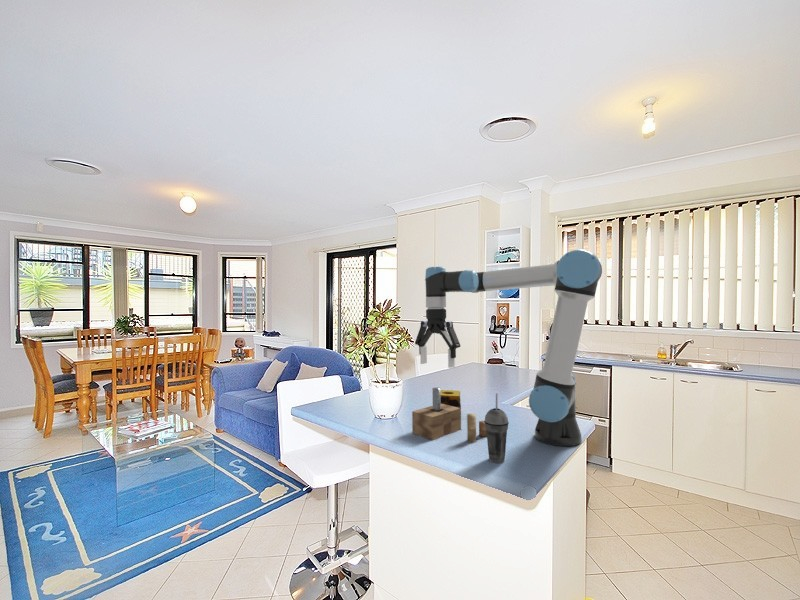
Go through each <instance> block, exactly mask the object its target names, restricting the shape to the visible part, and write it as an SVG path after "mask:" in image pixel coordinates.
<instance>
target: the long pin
mask: <svg viewBox="0 0 800 600" xmlns="http://www.w3.org/2000/svg"><path fill="white" fill-rule="evenodd" d="M441 390H442V389H441V388H440V387H432V406H433V411H435V412H440V411H441Z"/></svg>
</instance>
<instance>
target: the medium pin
mask: <svg viewBox="0 0 800 600" xmlns="http://www.w3.org/2000/svg"><path fill="white" fill-rule="evenodd" d="M466 421H467V422H466V423H467V424H466V426H467V427H466V431H467V432H466V433H467V434H466V435H467V436H466V438H467V442H469V443H476V442H477V415H476V413H467V414H466Z"/></svg>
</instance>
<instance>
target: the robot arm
mask: <svg viewBox="0 0 800 600" xmlns="http://www.w3.org/2000/svg"><path fill="white" fill-rule="evenodd" d="M602 273H603V267H602V264H601V262H600V260H599V258H598V256H597V255H595V253H593V252H591V251H589V250H585V249H573V250H570V251H568V252H566V253H565V254H563V255H562V257H560V259H559V260H556V262H554V263H552V264H543V265H533V266H526V267H525V266H524V267H517V268H508V269H498V270H490V271H489V270H488V271H478V272H476V271H475V270H473V269H472V270H469V269H465V270H457V271H455V270H454V271H446V268H445V267H444V266H429V267H427V268H426V269H425V276H424V277H425V279H424V281H425V308H427V309H426V310H425V318H426V320H421V321H420V327H419V330H418V333H417V336H416V339H415V342H414V344H415V345H417V346H418V348H419V350H418V352H419V353H418V354H419V355H420V364H421V365H425V364H427V362H428V361H427V359H428V357H427V355H428V353H427V349H428V348H427V345H426V344H427V343H428V341H429V339H430V338H431V336H432V335H433V334H438V335H440V336H441V337H442V339H443V340H444V342H445V343H446V345H447V347H448V349H447V368H449V369H451V368H454V367H456V365H455V361H456V360H455V359H456V357H457V350H456V349H458V348H461V344H460V340H459V338H458V336H457V333H456V330H455V329H454V322H453V321H446V319H447V309H446V307H447V293H472V294H473V293H475V294H477V293H479V292H480V293H482V292H493V291H504V290H515V289H516V290H517V289H529V288H540V287H553V286H554V292H555V293H556V295H557V301H556V306H555V309H554V310H555V311H554V316H553V321H552V324H551V325H552V326H551V330H550V334H549V338H548V343H547V347H546V352H545V358H544V361H543V367H542V368H541V370H539V371H537V372H536V375H535V380H534V386H533V389H532V391H530V393H529V397H528V405H529V408H530V410H531V413H533V414H534V416H535V417H537V418H538V420H537V423H536V426H535V429H534V437H535V438H536V440H537V441H539V442H542V443H545V444H548V445H553V446H559V447H571V446H573V447H575V446H577V445H580V444H581V443H582V441H583V440H582V432H581V429H580V427H579V424H578V421H577V418H576V417H577V416H576V410H577V409H576V406H577V405H576V385H577V382H576V377H575V375H573V370H574V366H575V362H576V356H577V352H578V348H579V342H580V338H581V336H582V335H581V334H582V330H583V325H584V320H585V317H586V312H587V306H588V302H589V301H591V300H593V299H595V297H596V296H595V295H596V292H597V287H598V283H599V281H600V279H601V277H602Z"/></svg>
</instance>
